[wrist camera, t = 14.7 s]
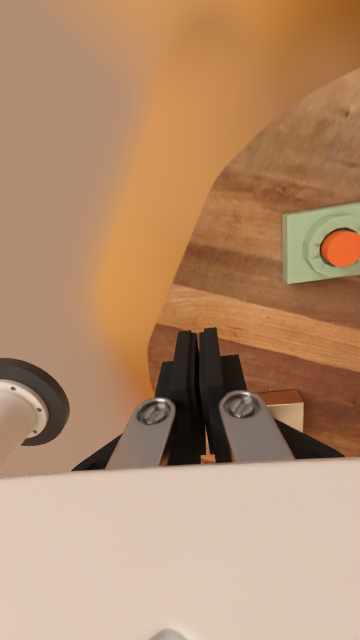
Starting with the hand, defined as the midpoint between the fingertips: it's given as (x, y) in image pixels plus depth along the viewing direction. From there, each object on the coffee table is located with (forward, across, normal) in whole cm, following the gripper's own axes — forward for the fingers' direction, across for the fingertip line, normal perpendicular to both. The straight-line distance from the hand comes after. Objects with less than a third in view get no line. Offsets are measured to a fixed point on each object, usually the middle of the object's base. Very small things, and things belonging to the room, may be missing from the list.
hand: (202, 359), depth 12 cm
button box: (+25, -15, +1) cm, 29 cm away
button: (+22, -15, +1) cm, 26 cm away
